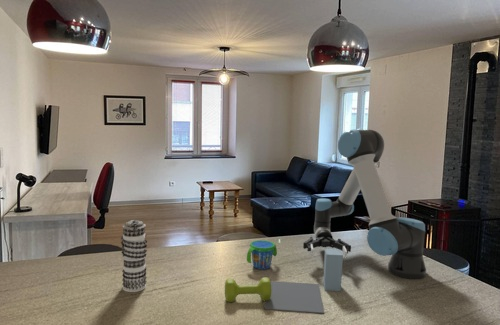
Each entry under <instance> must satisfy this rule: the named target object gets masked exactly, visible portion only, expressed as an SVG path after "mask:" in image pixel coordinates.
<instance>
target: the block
mask: <svg viewBox="0 0 500 325" xmlns="http://www.w3.org/2000/svg"><path fill="white" fill-rule="evenodd" d="M323 258H324V260H323V261H324V262H323V282H322V285H323V287H324V291H333V292H334V291H336V292H341V291H342V277H343V262H344V261H343V260H344V255H343V252H342V251H341V250H339V249H336V248H324V257H323Z"/></svg>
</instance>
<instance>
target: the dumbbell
mask: <svg viewBox="0 0 500 325" xmlns="http://www.w3.org/2000/svg"><path fill="white" fill-rule="evenodd" d="M270 281H271V279H270V277H266V276H265V277H262V278H261V279H260V280H259V282H258V283H257V284H244V285H243V284H242V285H240V284H238V283H237V282H236V280H235V279H234V278H226V280H225V281H224V297H225V300H226V302H227V303H232V302H235V300H236V299H237V297H238V296H240V295H255V294H256V295H258V296H259V297H260V299H261V300H262V301H264V302H265V301H268V300H270V298H271V293H272V288H271V282H270Z"/></svg>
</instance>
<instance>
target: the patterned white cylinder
mask: <svg viewBox="0 0 500 325" xmlns="http://www.w3.org/2000/svg"><path fill="white" fill-rule="evenodd" d="M146 226H147V225H146V223H144V222H143V221H142V220H139V219H131V220H128V221H126V223H124V225H122V230H123V231H122V232H123V234H122V235H121V237H120V240H121V241H120V244H121V255H122V260H123V264H122V265H123V266H122V267H123V268H122V275H121V276H122V277H123V278H122V280H121V281H122V290H123V291H125V292H127V293H136V292H141V291H143V290H145V289H146V288H147V267H146V257H147V251H148V250H147V249H146V248H147V246H148V245H147V243H148V240H146V239H145V238H147V234H146V232H145V231H146V230H145V227H146Z"/></svg>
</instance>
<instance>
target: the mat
mask: <svg viewBox="0 0 500 325" xmlns="http://www.w3.org/2000/svg"><path fill="white" fill-rule="evenodd" d="M270 282H271V288H272V293H271V298H270V300H268V301H264V306H263V307H264V308H263V310H267V311H280V312H295V313H308V314H309V313H310V314H321V315H322V314H325V311H324V305H323V299H322V295H321V290H320V289H321V288H320V285H319V283H306V282H292V281H277V280H276V281H275V280H274V281H273V280H270Z"/></svg>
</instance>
